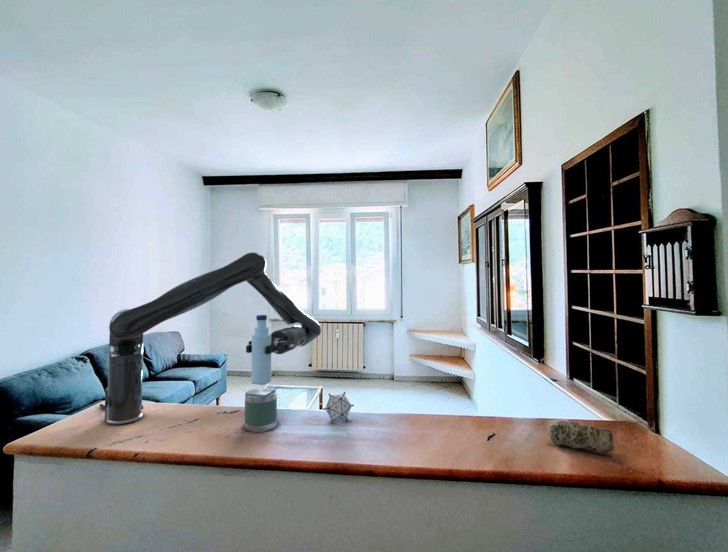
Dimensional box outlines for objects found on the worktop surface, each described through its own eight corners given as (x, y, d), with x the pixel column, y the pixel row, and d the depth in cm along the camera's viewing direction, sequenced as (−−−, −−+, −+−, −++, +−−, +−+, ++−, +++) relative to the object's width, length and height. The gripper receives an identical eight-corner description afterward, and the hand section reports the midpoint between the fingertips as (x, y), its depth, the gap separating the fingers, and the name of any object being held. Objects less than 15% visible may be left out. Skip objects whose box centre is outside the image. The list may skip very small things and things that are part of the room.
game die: (342, 435, 119) (349, 415, 113) (316, 422, 121) (321, 402, 115) (353, 411, 126) (359, 391, 121) (328, 400, 128) (334, 380, 123)
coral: (547, 446, 103) (546, 422, 103) (549, 438, 108) (549, 415, 108) (614, 460, 95) (613, 434, 95) (613, 450, 100) (613, 425, 101)
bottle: (247, 384, 116) (248, 316, 116) (258, 379, 121) (258, 314, 122) (264, 386, 114) (264, 316, 115) (274, 381, 119) (274, 314, 120)
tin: (238, 429, 114) (238, 394, 114) (255, 418, 122) (256, 385, 123) (266, 433, 111) (266, 397, 111) (282, 422, 119) (282, 388, 120)
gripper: (265, 327, 134) (235, 335, 118) (304, 329, 129) (278, 338, 113) (265, 350, 133) (235, 361, 117) (304, 353, 129) (278, 365, 113)
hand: (256, 349), depth 115 cm, fingers closed on bottle, 5 cm apart
